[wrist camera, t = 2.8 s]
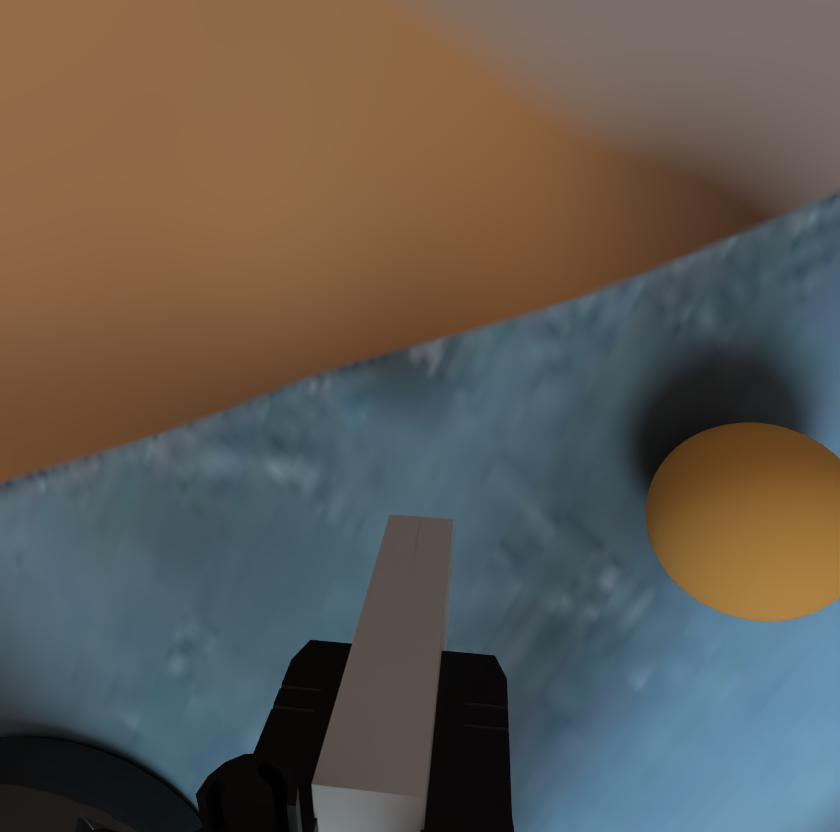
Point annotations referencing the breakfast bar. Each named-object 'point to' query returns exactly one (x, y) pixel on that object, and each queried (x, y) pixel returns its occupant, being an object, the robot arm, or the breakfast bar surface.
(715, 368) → the breakfast bar surface
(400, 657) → the robot arm
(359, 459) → the breakfast bar surface
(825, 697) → the breakfast bar surface
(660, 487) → the ball
